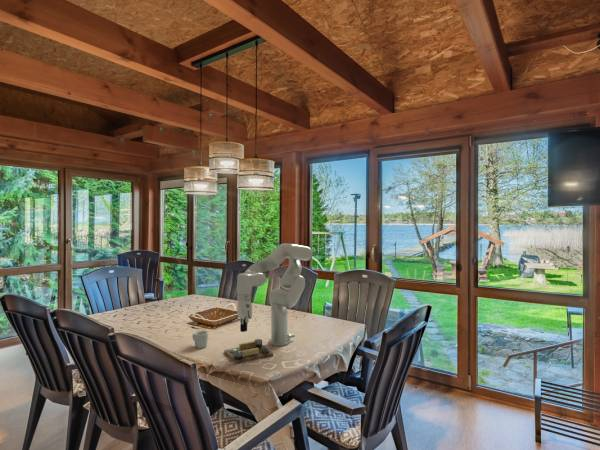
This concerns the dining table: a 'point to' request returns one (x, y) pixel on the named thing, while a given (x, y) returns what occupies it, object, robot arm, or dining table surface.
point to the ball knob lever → (251, 344)
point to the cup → (200, 339)
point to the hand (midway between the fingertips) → (243, 331)
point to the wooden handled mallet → (245, 353)
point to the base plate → (263, 353)
